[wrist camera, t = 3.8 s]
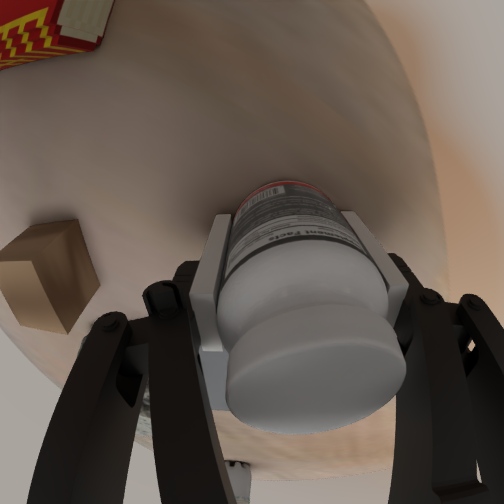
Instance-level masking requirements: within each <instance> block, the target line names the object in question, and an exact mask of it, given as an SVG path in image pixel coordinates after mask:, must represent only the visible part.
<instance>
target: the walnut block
mask: <svg viewBox="0 0 504 504" xmlns="http://www.w3.org/2000/svg"><path fill="white" fill-rule="evenodd" d="M99 287H100V283H99V281H98V278H97V276H96V273H95V270H94V267H93V265H92V262H91V259H90V256H89V253H88V250H87V247H86V244H85V241H84V238H83V235H82V231H81V228H80V225H79V221H78V219H77V220H69V221H62V222H55V223H48V224H41V225H34V226H30V227H29V228H28V229H26V230H25V231H24V232H22V233H21V234H20V235H19V236H17V237H16V238H15V239H14V240H12V241H11V242H10V243H9V244H8V245H7V246H5V247H4V248H3V249H2V250H1V251H0V289H1V291H2V293H3V295H4V297H5V299H6V301H7V303H8V305H9V307H10V308H11V310H12V312H13V314H14V315H15V317H16V319H17V321H18V322H19V324H20V325H21V326H26V327H30V328H35V329H40V330H45V331H50V332H55V333H61V334H67V335H68V334H69V332H70V331H71V329H72V327H73V326H74V324H75V323H76V321H77V319H78V318H79V316H80V315H81V313H82V312H83V310H84V309H85V307H86V306H87V304H88V303H89V301H90V300H91V298H92V297H93V295H94V294H95V292H96V291H97V290H98V288H99Z"/></svg>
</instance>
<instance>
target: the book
mask: <svg viewBox="0 0 504 504" xmlns="http://www.w3.org/2000/svg"><path fill="white" fill-rule="evenodd" d="M114 2H115V0H0V70H3V69H6V68H9V67H13V66H16V65H20V64H23V63H27V62H31V61H36V60H40V59H45V58H50V57H55V56H61V55H67V54H74V53H81V52H90V51H94V49H95V45H100V43H101V40H102V38H103V37H104V34H105V30H106V27H107V23H108V20H109V17H110V14H111V11H112V8H113V5H114Z"/></svg>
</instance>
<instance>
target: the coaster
mask: <svg viewBox="0 0 504 504" xmlns="http://www.w3.org/2000/svg"><path fill="white" fill-rule="evenodd" d="M199 354H200V358H201V363H202V368H203V373H204V378H205V383H206V387H207V392H208V397H209V401H210V406H211V410H224V411H230V409H229V408H228V406H227V403H226V399H225V390H226V377H227V364H228V359H229V354H228V352H227V351H226V349H225V348H224V347H223V351H203V349H202V345H201V343H200V348H199Z"/></svg>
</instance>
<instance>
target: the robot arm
mask: <svg viewBox="0 0 504 504" xmlns="http://www.w3.org/2000/svg"><path fill="white" fill-rule="evenodd" d="M341 215H342V217H343V218H344V219H345V221H346V222H347V224H348V225H349V227H350V228H351V230H352V231H353V232H354V234H355V235H356V237H357V238H358V240H359V241H360V243H361V244H362V246H363V247H364V249H365V250H366V252H367V253H368V255H369V256H370V258H371V259H372V261H373V262H374V264H375V266H376V267H377V269H378V271H379V273H380V275H381V277H382V279H383V281H384V283H385V286H386V289H387V294H388V315H387V321H388V323H389V324H390V325H391V326H392V328H393V330H394V331H395V333H396V335H397V340H398V343H399V346H400V349H401V351H402V354H403V357H404V359H405V362H406V376H405V379H404V382H403V384H402V386H401V388H400V389H399V391H398V392H397V393H396V430H395V448H394V461H393V471H392V479H391V487H390V494H389V500H388V504H504V329H503V327H502V326H501V325H500V323H499V321H498V320H497V318H496V317H495V316H494V314H493V313H492V311H491V310H490V309H489V307H488V306H487V304H486V303H485V302H484V301H483V300H482V299H481V298H480V297H478V296H477V295H474V294H465V295H463V296H462V297H461V299H460V301H459V304H456V303H448V302H444V299H443V298H442V296H441V295H440V294H439V293H438V292H436V291H434V290H432V289H428V288H424V287H423V286H422V284H421V283H420V282H419V280H418V279H417V278H416V276H415V275H414V273H413V272H411V269H410V268H409V267H407V264H406V263H405V262H404V260H403V259H402V258H400V257H399V256H397V255H396V254H394V253H386V251H385V250H384V249H383V247H382V246H381V245H380V243H379V242H378V241H377V239H376V238H375V237H374V236H373V234H372V233H371V232H370V230H369V229H368V228H367V227H366V225H365V224H364V223H363V222H362V220H361V219H360V218H359V217H358V216H357V214H356V213H355V212H354V211H341ZM231 229H232V221H231V214H221V215H216V217H215V220H214V223H213V225H212V228H211V231H210V234H209V237H208V239H207V242H206V245H205V248H204V251H203V254H202V257H201V260H200V261H185V262H183V263H182V264H181V265H180V266H179V267H178V268H177V271H176V273H175V276H174V277H173V280H172V281H171V280H164V281H159V282H156V283H153V284H152V285H150V286H148V287H147V288H146V289H145V290H144V292H143V295H142V297H143V300H144V303H145V306H146V309H147V311H148V314H149V316H148V317H144V318H140V319H135V320H130V321H128V320H127V317H126V315H125V314H123V313H122V312H117V311H115V312H109V313H106V314H104V315H102V316H101V317H99V318H98V319H97V320H96V322H95V323H94V325H93V327H92V329H91V331H90V333H89V335H88V336H87V338H86V340H85V342H84V344H83V346H82V348H81V351H80V353H79V355H78V357H77V359H76V361H75V363H74V365H73V367H72V370H71V372H70V374H69V376H68V379H67V381H66V383H65V385H64V388H63V390H62V393H61V395H60V397H59V400H58V402H57V405H56V407H55V410H54V413H53V415H52V418H51V420H50V423H49V426H48V429H47V432H46V435H45V437H44V440H43V443H42V447H41V450H40V453H39V456H38V459H37V463H36V466H35V470H34V474H33V478H32V482H31V486H30V490H29V495H28V499H27V504H123V499H124V493H125V486H126V480H127V474H128V468H129V462H130V457H131V452H132V447H133V442H134V437H135V432H136V428H137V423H138V419H139V414H140V410H141V406H142V401H143V397H144V393H145V389H146V385H147V381H148V377H149V399H150V416H151V429H152V440H153V449H154V458H155V465H156V473H157V479H158V486H159V492H160V498H161V503H162V504H237V502H236V498H235V495H234V492H233V489H232V486H231V482H230V479H229V475H228V472H227V469H226V465H225V461H224V458H223V454H222V450H221V447H220V443H219V439H218V435H217V431H216V427H215V423H214V419H213V414H212V410H211V406H210V401H209V397H208V392H207V387H206V383H205V378H204V373H203V368H202V363H201V358H200V354H199V348H200V343H201V345H202V349H203V351H223V347H224V346H223V344H222V342H221V339H220V337H219V333H218V329H217V318H216V316H217V305H218V299H219V294H220V288H221V283H222V278H223V273H224V267H225V262H226V256H227V250H228V245H229V239H230V234H231ZM472 340H473V342H474V343H475V347H474V348H473V350H472V351H470V350H469V348H468V346H469V344H470V343H471V341H472ZM476 459H477V460H476ZM477 463H478V467H479V471H480V475H481V480H482V483H480V482H479V481H478V479H477Z"/></svg>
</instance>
